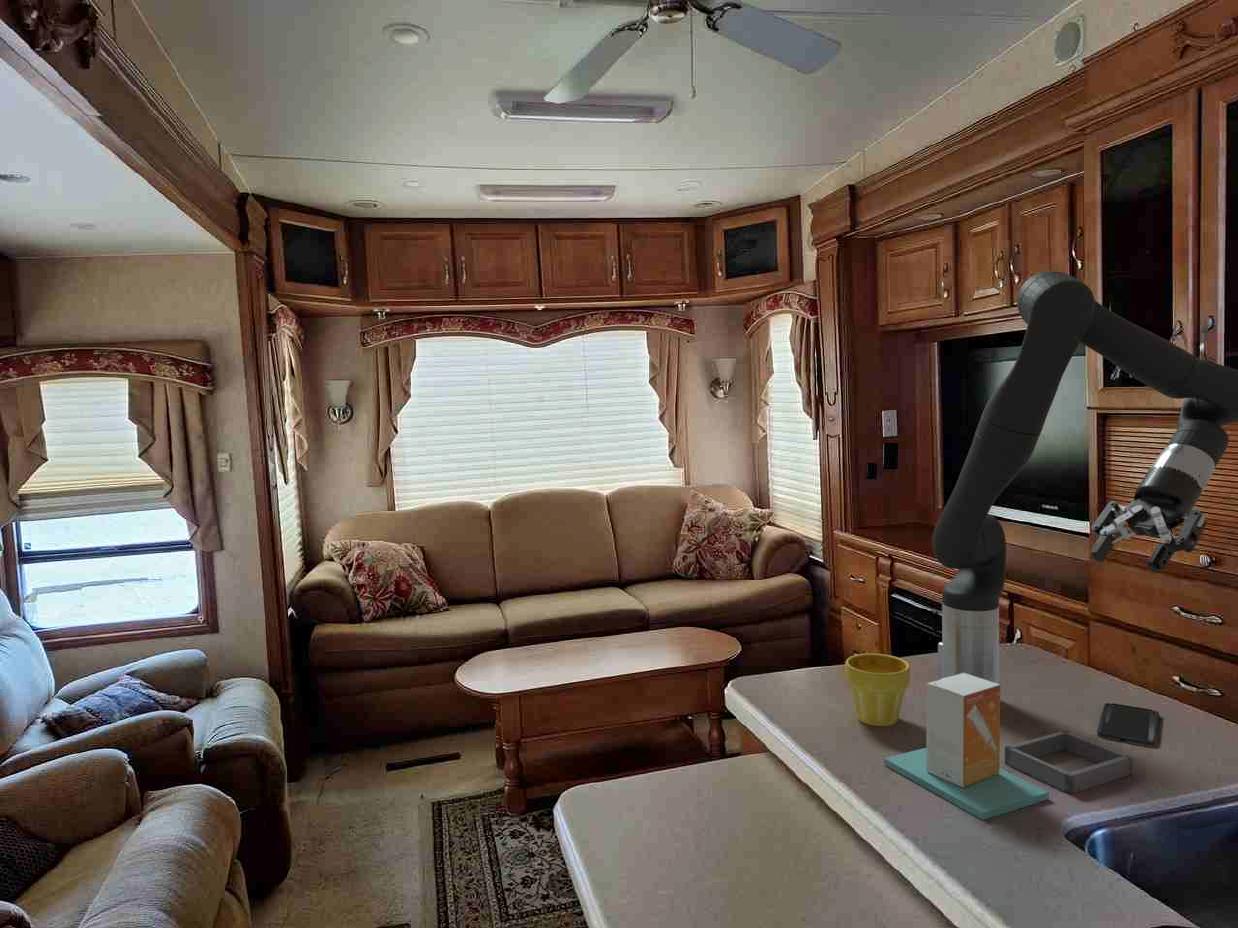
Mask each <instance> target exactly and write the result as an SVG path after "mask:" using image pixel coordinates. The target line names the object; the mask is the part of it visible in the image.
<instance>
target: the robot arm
mask: <svg viewBox="0 0 1238 928" xmlns="http://www.w3.org/2000/svg"><path fill="white" fill-rule="evenodd" d="M1016 308H1017V311H1018V314H1019V315H1020V317H1021V319H1022V320H1023V321H1024V322H1025V324H1027V326H1026V329H1025V334H1024V337H1023V341H1022V344H1021V346H1020V350H1019V353H1018V356H1017V358H1016V360H1015V363H1014V365H1013V366H1012V367H1011V370H1010V371H1009V373H1008V374H1007V375H1006V377H1005V378H1004V380H1002V381H1001V383H1000V384H999V385H998V386H997V388H996V389H995V391H994V392H993V394H991V396H990V398H989V399H988V401H987V403H986V404H985V406H984V409H983V411H982V414H981V416H980V419H979V422H978V425H977V427H976V430H975V433H974V436H973V439H972V442H971V445H970V448H969V450H968V454H967V456H966V457H965V461H964V463H963V466H962V467H961V471H960V474H959V475H958V479H957V481H956V483H955V486H954V488H953V491H952V492H951V495H950V497H949V499H948V501H947V502H946V505H945V506H944V508H943V509H942V512H941V514H940V516H939V517H938V520H937V521H936V524H935V528H934V529H933V532H932V539H931V541H932V543H931V545H932V551H933V554H934V557H935V559H936V561H938V563H939V564H940V565H942V566H943V567H945V568H948V569H952V570H953V569H954V570H957V572H956V573H955V576H954V577H953V578H952V580H950V581H949V582H948V583H947V584H946V585H944V587H943V588H942V593H941V603H942V604H941V619H942V621H941V623H942V624H941V625H942V626H941V627H942V629H941V630H942V632H941V634H942V641H941V642H938V644H937V680H940V679H942V678H945V677H950V676H954V675H958V674H961V673H966V674H969V675H972V676H975V677H978V678H982V679H985V680H988V681H991V682H994V683H997V684H1000V598H1001V595H1002V594H1003V591H1004V587H1005V578H1006V565H1007V564H1006V563H1007V562H1006V561H1007V560H1006V559H1007V542H1006V541H1007V540H1006V534H1005V530H1004V528H1003V526H1002V524H1001V523H1000V522H999V520H998V519H997V518H996V517H995V516H993V515H992V514H989V512H990V510H991V508H992V506H993V504H994V503H995V501H996V500H997V498H998V497H999V496H1000V494H1002V493H1003V491H1004V490H1006V488H1007V487H1008V486H1009V484H1011V482H1012V481H1014V479H1015V478H1016V477H1017V476H1018V474H1020V473H1021V471H1022V470H1023V468H1025V466H1026V465H1027V463H1028V462H1029V460H1030V459H1031V457H1032V455H1033V453H1034V451H1035V448H1036V446H1037V443H1038V440H1039V438H1040V435H1041V433H1042V431H1043V428H1044V425H1045V423H1046V420H1047V417H1048V415H1049V412H1050V409H1051V407H1052V404H1053V402H1054V400H1055V397H1056V394H1057V392H1058V389H1059V386H1060V383H1061V381H1062V378H1063V376H1064V374H1065V372H1066V369H1067V368H1068V365H1069V363H1070V361H1071V360H1072V358H1073V356H1074V355H1075V352H1076V350H1077V348H1078V346H1079V345H1080V344H1081V345H1084V347H1087V348H1089V349H1091V350H1093V352H1096V353H1097V354H1098V355H1100V356H1102V357H1103V358H1104V359H1106V360H1108V361H1109V362H1110V363H1112V365H1115V366H1116V367H1117V368H1119V369H1121V370H1122V371H1123V372H1125V373H1126V374H1128V375H1130V376H1131V377H1133V378H1134V379H1136V380H1137V381H1140V382H1141V383H1143V384H1144V385H1146V386H1148V387H1149V388H1151V389H1153V390H1155V391H1157V392H1158V393H1160V394H1162V395H1163V396H1166V397H1168V398H1170V399H1177V400H1181V399H1183V402H1182V406H1181V409H1180V414H1179V417H1178V421H1177V425H1176V426H1177V427H1176V431H1175V432H1174V433H1173V434H1172V436H1171V438H1170V439H1169V441H1168V442H1167V445H1166V446H1165V447H1164V449H1162V451H1161V452H1160V454H1158V456H1157V457H1156V458H1155V459H1154V461H1153V462H1152V464H1151V465H1150V468H1149V469H1148V470H1147V472H1146V474H1145V475H1144V476H1143V479H1142V480H1141V481H1140V483H1139V485H1138V486H1137V487H1136V489H1135V491H1134V498H1133V500H1132V501H1131V502H1130V503H1129V504H1127V505H1121V504H1118V502H1116V501H1115V500H1111V501H1109V502H1108V503H1107V504H1106V506H1105V507H1104V509H1103V510H1102V512H1101V513H1100V514H1099V515H1098V516H1097V518H1096V520H1095V521H1094V522H1093V523H1092V525H1091V527H1090V528H1091V530H1092V531H1093V533H1094V534H1095V535H1096V537H1097V540H1096V542H1095V543H1094V545H1093V547H1092V548H1091V550H1090V553H1091V556H1092V557H1093V560H1095V562H1098V563H1104V561H1105V560H1106V558H1107V556H1108V555H1109V553H1110V552H1111V550H1112V549H1113V547H1114V544H1115V543H1117V542H1119V541H1121V540H1122V539H1129V538H1131V537H1133V536H1135V535H1136V536H1149V537H1151V538H1156V539H1157V538H1158V537H1159V538H1160V540H1161V543H1158V544H1157V545H1156V547H1155V549H1154V550H1153V552H1152V553H1151V555H1150V556H1149V558H1148V560H1147V562H1146V564H1147V567H1148V568H1149V569H1150V571H1151V572H1153V573H1159V572H1160V571H1161V570H1164V569H1165V568H1166V566H1167V565H1168V563H1169V562H1170V561H1171V558H1172V557H1173V555H1175V554H1177V553H1178V552H1181V551H1183V552H1185V553H1191V552H1193V551H1194V550H1195V547H1196V545H1197V543H1198V542H1199V540H1200V538H1201V536H1202V534H1203V532H1204V530H1205V528H1206V526H1207V524H1208V521H1207V520H1206V518H1205V516H1204V515H1203V513H1202V512H1201V511H1200V509H1199V508H1198V509H1196V508H1195V509H1194V507H1195V506H1196V504H1197V502H1198V500H1199V499H1200V497H1201V495H1202V494H1203V493H1204V491H1205V489H1206V488H1207V485H1208V484H1209V482H1210V480H1211V478H1212V475H1213V473H1214V470H1215V469H1216V467H1217V465H1218V463H1219V462H1220V460H1221V459H1222V457H1223V456H1224V454H1225V452H1226V451H1227V448H1228V445H1229V442H1230V441H1229V440H1230V439H1229V435H1228V433H1227V431H1226V430H1225V429H1224V428H1223V426H1227V425H1230V424H1234V423H1238V369H1236V368H1232V367H1230V366H1226V365H1222V364H1219V363H1216V362H1214V361H1209V360H1205V359H1200V358H1199V357H1197V356H1195V355H1193V354H1192V353H1190V352H1189V351H1187V350H1185V349H1184V348H1181V347H1180V346H1178V345H1177V344H1175V343H1173V342H1171V341H1170V340H1168V339H1166V338H1163V337H1161V336H1160V335H1157V334H1155V333H1154V332H1152V331H1149V330H1148V329H1145V328H1144V327H1141V326H1139V325H1138V324H1135V323H1133V322H1131V321H1129V320H1128V319H1126V318H1124V317H1122V316H1120V315H1118V314H1116V313H1115V312H1113V311H1111V310H1110V309H1108V308H1107V307H1105V306H1104V305H1103V304H1101V303H1100V302H1098V301H1096V299H1095V296H1094V293H1093V291H1092V289H1091V288H1090V287H1089V286H1088V285H1087V284H1086V283H1085V282H1083V281H1081V280H1080V279H1078V278H1075V277H1074V276H1072V275H1070V274H1068V273H1066V272H1062V271H1054V270H1049V271H1042V272H1039V273H1037V274H1035V275H1033V276H1030V277H1029V278H1028V279H1026V280H1025V282H1024V283H1023V284H1022V285H1021V287H1020V289H1019V290H1018V293H1017V298H1016ZM1124 524H1127V526H1128V527H1129V528H1125V527H1124ZM1181 525H1183V526H1182V528H1181V529H1180V531H1179V533H1178V536H1177V537H1176V535H1175V533H1174V529H1175V528H1177V527H1179V526H1181ZM1116 531H1117V532H1116Z"/></svg>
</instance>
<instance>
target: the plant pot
mask: <svg viewBox="0 0 1238 928" xmlns="http://www.w3.org/2000/svg"><path fill="white" fill-rule="evenodd" d="M844 663H845V666H844V668H845V670H844V671H845V672H844V673H845V681H846V683H847V684H848V685H849V686H850V687H849V688H850V691H851V695H852V700H853V705H854V710H855V716H856V718H857V720H858V721H859V722H861V723H863V724H865V725H869V726H872V727H873V726H874V727H889V726H890V727H891V726H893V725H895V724H896V723H897V722H898V720H899V716H900V712H901V707H902V703H903V699H904V695H905V691H906V689H907V688H908V687H909V686H910V679H911V678H910V677H911V674H910V672H911V671H910V670H911V668H910V664H909V663H908V662H907V661H906V660H904V659H902V658H901V657H897V656H894V655H891V654H883V653H860V654H859V653H858V654H854V655H852V656H849V657H848V658H847V659H845V662H844Z"/></svg>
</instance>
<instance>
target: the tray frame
mask: <svg viewBox="0 0 1238 928" xmlns="http://www.w3.org/2000/svg"><path fill="white" fill-rule="evenodd" d="M1065 750H1066V751H1069V752H1071V753H1074V754H1075V755H1078V756H1081V757H1082V758H1084V759H1085V758H1086V759H1088V760H1089V761H1092V762H1095V763H1097V764H1093V765H1090V766H1085V767H1083V768H1079V769H1076V770H1073V771H1070V772H1069V771H1066V770H1064V769H1062V768H1060V767H1057V766H1055V765H1053V764H1051V763H1048V762H1046V761H1043V760H1042V759H1039V758H1040V757H1043V756H1044V757H1045V756H1048V755H1051V754H1055V753H1057V752H1061V751H1065ZM1004 764H1005V765H1007V766H1009V767H1012V768H1014V767H1015V768H1014V769H1016V768H1017V769H1016V770H1018V769H1019V770H1018V771H1020V770H1021V771H1020V772H1022V771H1023V772H1022V773H1024V772H1025V773H1024V774H1026V773H1028V774H1030V775H1029V776H1031V775H1032V776H1031V777H1033V776H1034V777H1033V778H1035V777H1036V778H1035V779H1037V778H1038V779H1037V780H1039V779H1040V780H1039V781H1041V780H1042V781H1041V782H1043V781H1044V782H1043V783H1045V784H1048V785H1051V786H1052V787H1055V788H1057V789H1058V790H1060V791H1062V792H1065V793H1067V794H1069V795H1072V794H1074V793H1077V792H1081V791H1083V790H1088V789H1091V788H1094V787H1096V786H1100V785H1104V784H1106V783H1108V782H1109V783H1110V782H1112V781H1115V780H1119V779H1121V778H1124V777H1128V776H1131V775H1133V757H1132V756H1130V755H1128V754H1125V753H1123V752H1120V751H1118V750H1116V749H1113V748H1110V747H1108V746H1106V745H1102V744H1100V743H1097V742H1096V741H1092V740H1090V739H1087V738H1084V737H1083V736H1079V735H1078V734H1075V733H1072V732H1070V731H1067V730H1062V731H1059V732H1054V733H1050V734H1047V735H1044V736H1040V737H1036V738H1033V739H1028V740H1026V741H1025V740H1024V741H1021V742H1018V743H1013V744H1011V745H1007V746H1004ZM1028 774H1027V775H1028Z"/></svg>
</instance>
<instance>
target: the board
mask: <svg viewBox="0 0 1238 928" xmlns="http://www.w3.org/2000/svg"><path fill="white" fill-rule="evenodd" d="M883 762H884V763H883V764H884V766H886V767H887V768H889V769H891V770H893V771H894V772H896V773H898V774H899V775H901V776H903V777H905V778H907V779H909V780H910V781H912V782H914V783H916V784H917V785H919V786H921V787H922V788H924V789H926V790H928V791H929V792H932V793H934V794H936V795H937V796H939V797H941V798H942V799H945V800H946V801H948V802H949V803H951V804H953V805H955V806H957V807H958V808H959V809H962V810H964V811H966V812H968V813H969V814H971V815H973V816H974V817H976V818H978V819H979V820H982V821H984V820H988V819H991V818H995V817H997V816H1001V815H1004V814H1007V813H1011V812H1012V811H1016V810H1020V809H1023V808H1026V807H1028V806H1031V805H1035V804H1038V803H1041V801H1042V802H1044V800H1045V801H1048V800H1050V792H1049V791H1048V790H1045V789H1043V788H1041V787H1039V786H1037V785H1035V784H1033V783H1031V782H1029V781H1026V779H1025V780H1024V779H1022V778H1020V777H1018V776H1016V775H1014V774H1012V773H1010V772H1008V771H1006V770H1004V769H1002V768H1000V767H999V774H997V775H993V776H991V777H988V778H986V779H983V780H980V781H978V782H975V783H973V784H971V785H968V786H966V787H964V788H963V787H960V786H958V785H956V784H953V783H951V782H949V781H947V780H944V779H942V778H940V777H938V776H935V775H933V774H931V773H929V772H927V771H926V747H924V748H923V747H922V748H920V749H916V750H911V751H908V752H903V753H901V754H900V753H899V754H897V755H892V756H888V757H884V760H883ZM1047 799H1048V800H1047ZM1025 806H1026V807H1025Z"/></svg>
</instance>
